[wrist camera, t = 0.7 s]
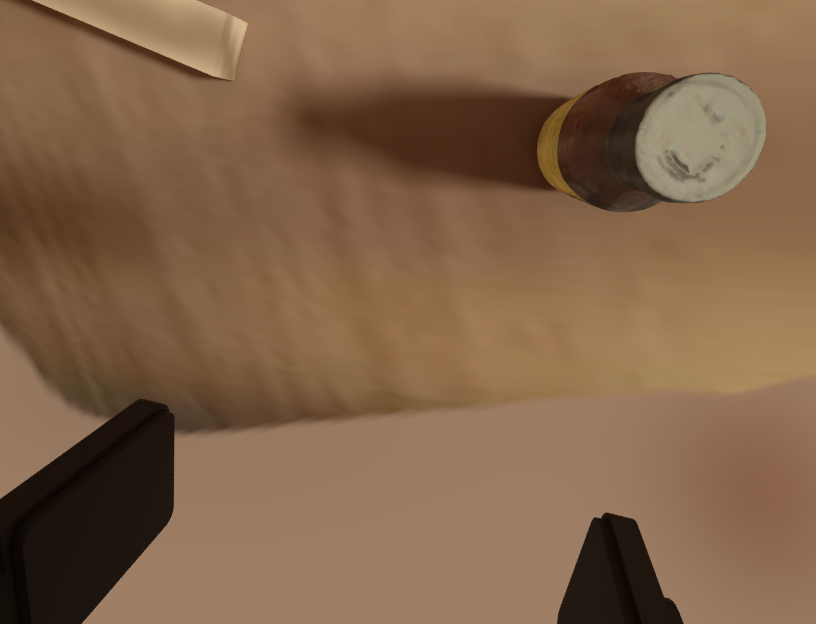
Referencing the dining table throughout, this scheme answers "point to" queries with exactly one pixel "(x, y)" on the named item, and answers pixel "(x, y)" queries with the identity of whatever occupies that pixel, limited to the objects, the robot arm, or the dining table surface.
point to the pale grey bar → (168, 29)
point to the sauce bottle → (653, 140)
